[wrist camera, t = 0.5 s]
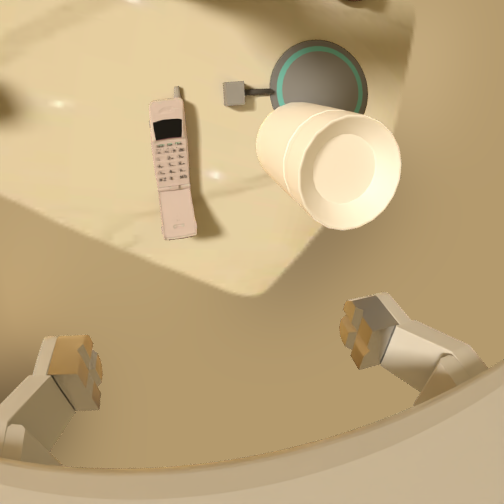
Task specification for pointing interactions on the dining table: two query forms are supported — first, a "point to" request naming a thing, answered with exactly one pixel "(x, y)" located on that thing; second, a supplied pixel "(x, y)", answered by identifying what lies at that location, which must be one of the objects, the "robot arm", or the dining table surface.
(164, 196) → the mobile phone
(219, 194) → the dining table surface
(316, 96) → the charging mat
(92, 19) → the dining table surface
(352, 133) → the canister
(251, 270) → the dining table surface
